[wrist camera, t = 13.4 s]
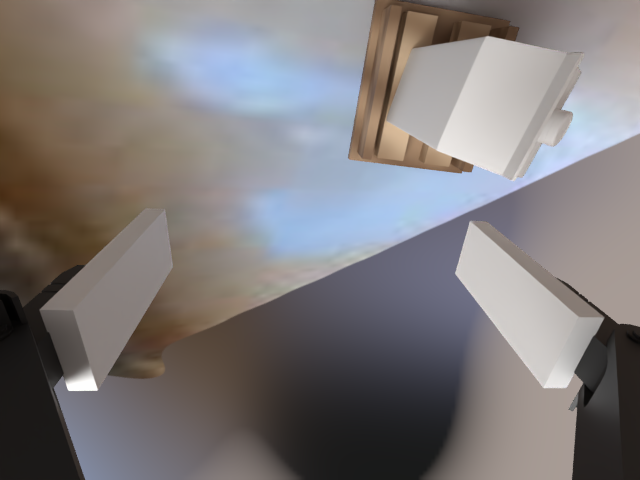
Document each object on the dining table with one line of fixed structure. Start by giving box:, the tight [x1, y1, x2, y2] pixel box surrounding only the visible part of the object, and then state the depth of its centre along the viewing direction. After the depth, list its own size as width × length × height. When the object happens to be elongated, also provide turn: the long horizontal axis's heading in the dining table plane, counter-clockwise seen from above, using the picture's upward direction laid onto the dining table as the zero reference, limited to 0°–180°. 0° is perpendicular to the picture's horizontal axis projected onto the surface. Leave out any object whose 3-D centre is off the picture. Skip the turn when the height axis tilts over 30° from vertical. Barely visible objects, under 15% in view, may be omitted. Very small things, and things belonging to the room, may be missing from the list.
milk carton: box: [386, 36, 584, 181], centre depth 28 cm, size 7×7×19 cm
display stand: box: [348, 0, 519, 173], centre depth 37 cm, size 16×14×4 cm
